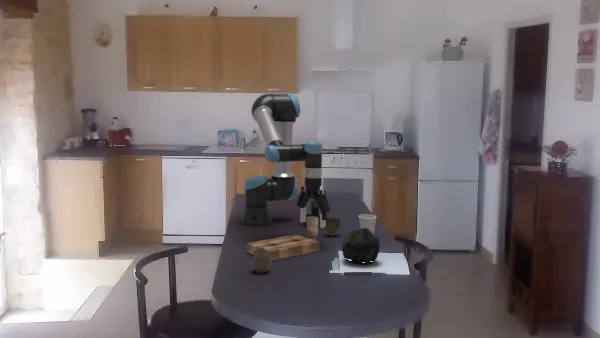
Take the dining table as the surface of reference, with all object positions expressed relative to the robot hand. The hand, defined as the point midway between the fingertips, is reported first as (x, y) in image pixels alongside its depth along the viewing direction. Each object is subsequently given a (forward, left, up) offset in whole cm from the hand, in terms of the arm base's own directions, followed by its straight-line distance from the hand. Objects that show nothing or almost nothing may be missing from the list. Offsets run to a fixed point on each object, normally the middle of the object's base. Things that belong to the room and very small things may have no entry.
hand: (312, 224), depth 277 cm
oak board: (+4, -19, -8) cm, 21 cm away
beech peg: (0, 0, -8) cm, 8 cm away
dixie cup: (+7, +27, -9) cm, 29 cm away
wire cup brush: (-5, +16, -9) cm, 19 cm away
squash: (+34, -3, -9) cm, 35 cm away
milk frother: (-23, +25, -9) cm, 35 cm away
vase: (+21, -42, -9) cm, 48 cm away
